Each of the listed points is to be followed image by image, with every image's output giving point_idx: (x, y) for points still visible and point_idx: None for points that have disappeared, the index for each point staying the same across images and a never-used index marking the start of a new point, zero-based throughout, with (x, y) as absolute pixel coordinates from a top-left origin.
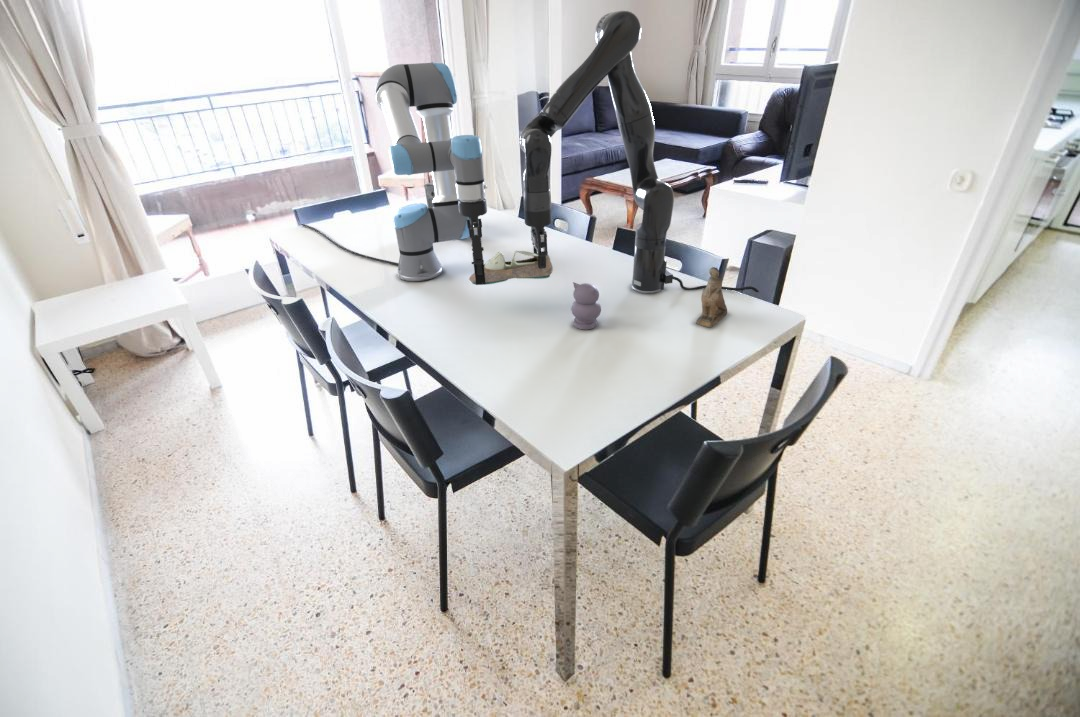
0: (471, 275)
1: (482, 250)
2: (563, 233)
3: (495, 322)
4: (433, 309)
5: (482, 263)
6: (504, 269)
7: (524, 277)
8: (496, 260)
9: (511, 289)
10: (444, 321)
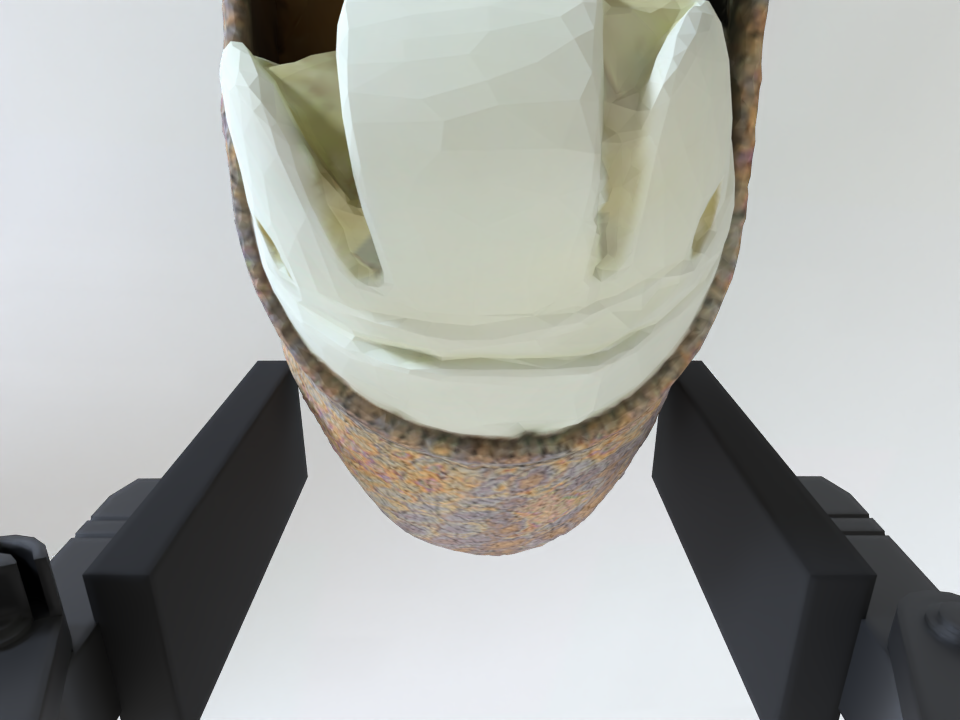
0: (453, 543)
1: (49, 572)
2: None
3: (773, 203)
4: (404, 628)
5: (859, 582)
6: (754, 29)
7: None
8: (684, 229)
9: None
10: (619, 564)
